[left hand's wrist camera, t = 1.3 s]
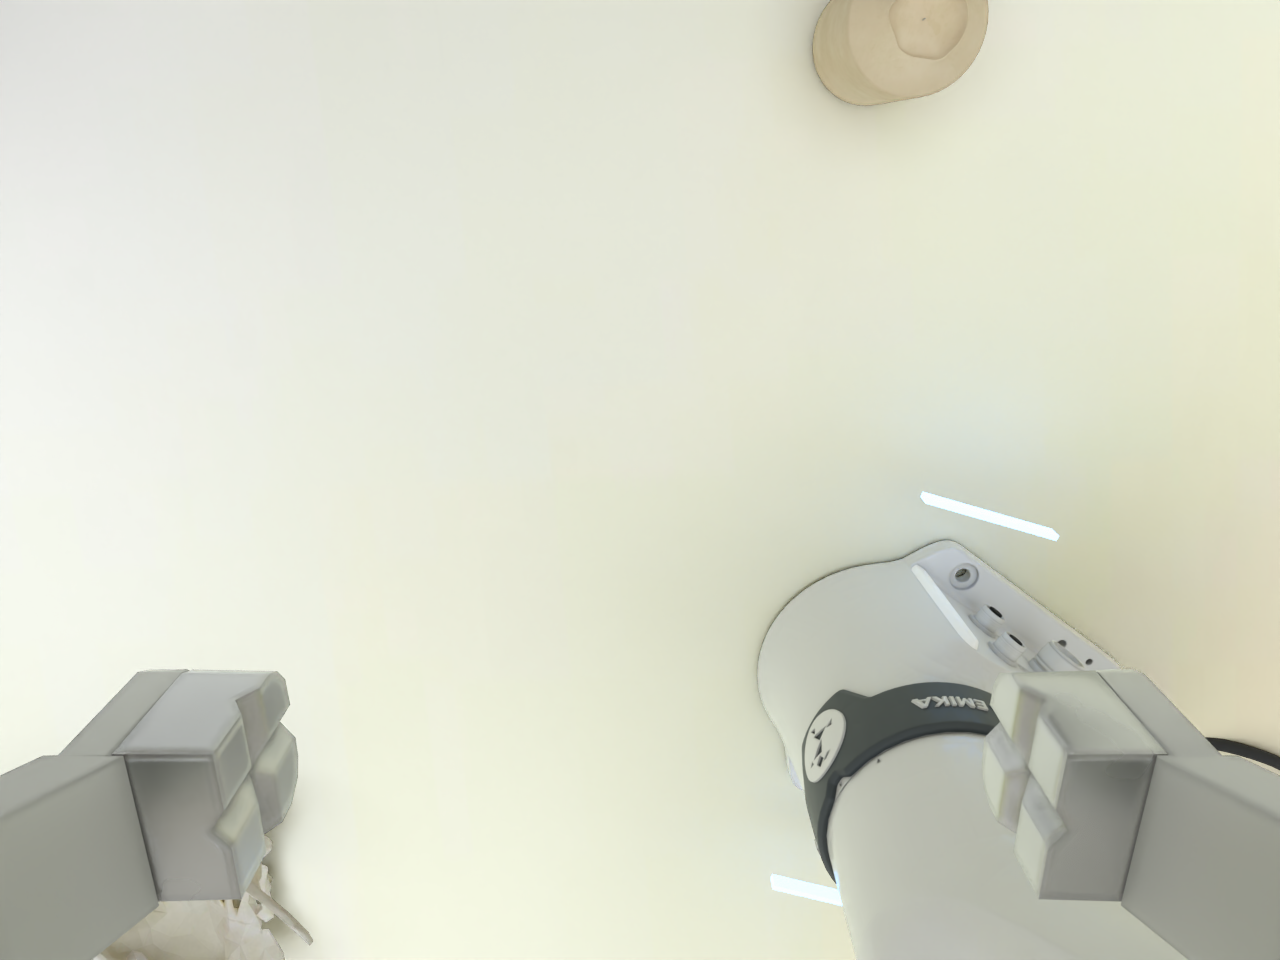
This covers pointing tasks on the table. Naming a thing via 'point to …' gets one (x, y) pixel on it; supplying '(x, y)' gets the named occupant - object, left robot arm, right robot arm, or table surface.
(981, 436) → the table surface
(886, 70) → the candle
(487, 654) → the table surface
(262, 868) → the anatomical model
